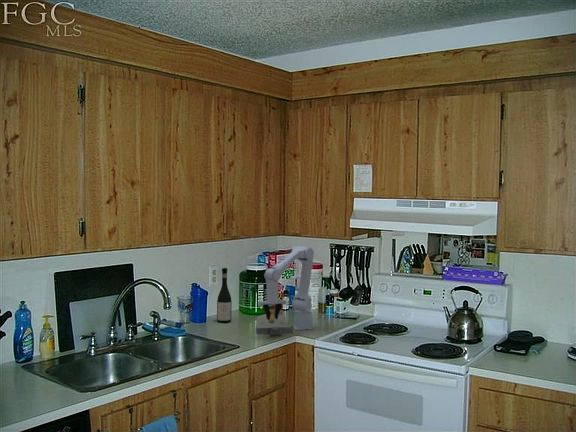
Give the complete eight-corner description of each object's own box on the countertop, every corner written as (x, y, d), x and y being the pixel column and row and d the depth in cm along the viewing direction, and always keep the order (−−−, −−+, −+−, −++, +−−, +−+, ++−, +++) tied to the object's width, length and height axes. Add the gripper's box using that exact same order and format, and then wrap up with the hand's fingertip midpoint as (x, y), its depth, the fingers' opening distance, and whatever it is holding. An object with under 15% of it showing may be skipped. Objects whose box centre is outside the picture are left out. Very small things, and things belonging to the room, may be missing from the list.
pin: (273, 321, 283) (274, 309, 283) (276, 323, 279) (277, 311, 279) (266, 321, 282) (267, 309, 282) (268, 323, 278) (269, 311, 278)
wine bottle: (231, 323, 307) (231, 269, 305) (216, 323, 306) (217, 269, 305) (231, 319, 315) (231, 267, 313) (217, 319, 314) (217, 267, 313)
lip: (292, 332, 289) (292, 326, 289) (294, 335, 283) (294, 328, 283) (256, 333, 286) (256, 327, 285) (257, 336, 280) (257, 329, 280)
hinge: (256, 333, 287) (255, 313, 290) (255, 333, 291) (254, 314, 294) (288, 331, 290) (287, 312, 293) (286, 332, 295) (285, 313, 298)
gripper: (283, 290, 286) (283, 316, 287) (256, 291, 282) (256, 318, 282) (287, 292, 279) (287, 319, 280) (259, 294, 275) (259, 321, 276)
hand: (272, 319), depth 281 cm, fingers closed on pin, 4 cm apart
